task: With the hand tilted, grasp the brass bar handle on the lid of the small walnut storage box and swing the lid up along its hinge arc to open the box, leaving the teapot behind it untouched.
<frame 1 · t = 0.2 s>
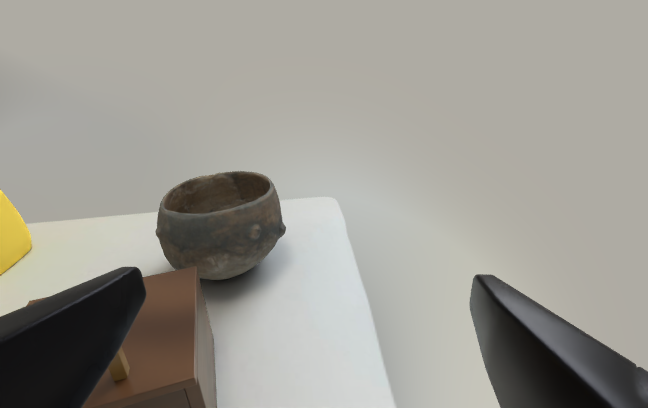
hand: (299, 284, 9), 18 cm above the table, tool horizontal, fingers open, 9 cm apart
bowl: (231, 265, 42), on the table
lid: (91, 313, 21), point 10 cm above the table, hinge at 0.0°
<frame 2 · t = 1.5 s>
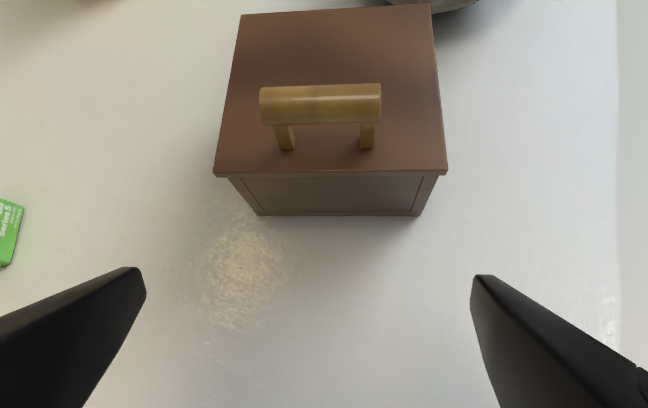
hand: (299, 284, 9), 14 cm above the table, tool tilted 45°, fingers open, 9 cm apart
chest: (338, 151, 26), on the table
lid: (326, 58, 17), point 10 cm above the table, hinge at 0.0°
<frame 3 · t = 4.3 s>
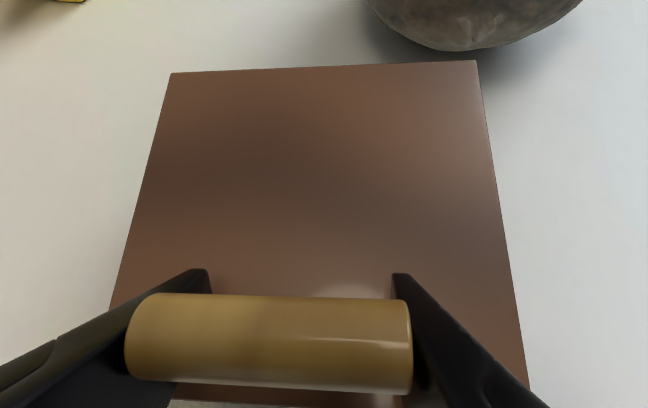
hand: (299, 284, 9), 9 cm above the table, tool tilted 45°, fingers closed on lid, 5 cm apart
bowl: (456, 16, 24), on the table
lid: (299, 181, 9), point 10 cm above the table, hinge at 0.0°, touching gripper
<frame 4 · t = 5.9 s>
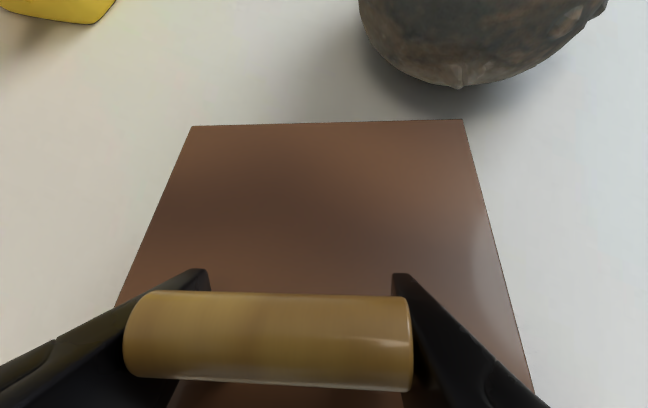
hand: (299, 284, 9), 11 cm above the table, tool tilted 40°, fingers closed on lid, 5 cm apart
bowl: (452, 42, 25), on the table
lid: (303, 207, 10), point 11 cm above the table, hinge at 16.6°, touching gripper
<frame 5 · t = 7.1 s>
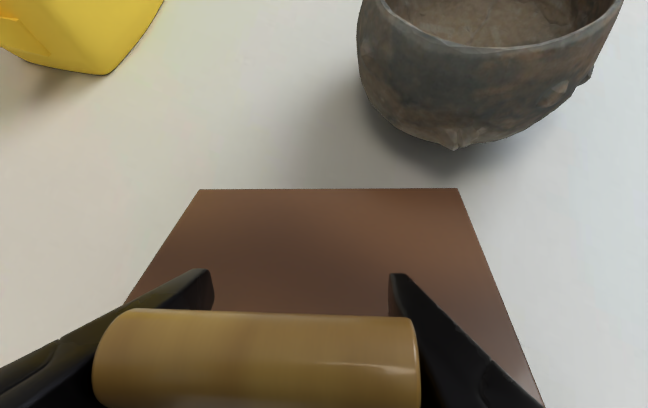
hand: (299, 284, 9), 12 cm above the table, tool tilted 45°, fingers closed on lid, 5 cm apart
bowl: (447, 98, 26), on the table
teapot: (94, 31, 34), on the table
lid: (302, 252, 10), point 12 cm above the table, hinge at 29.2°, touching gripper
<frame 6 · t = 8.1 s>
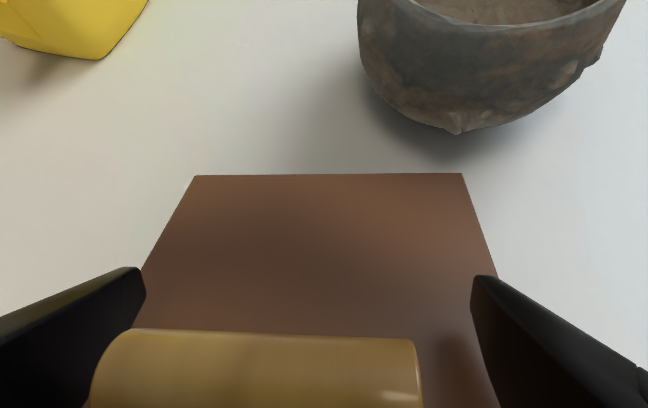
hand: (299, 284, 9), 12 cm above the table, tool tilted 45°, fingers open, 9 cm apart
bowl: (450, 82, 26), on the table
teapot: (87, 14, 33), on the table
lid: (302, 250, 10), point 12 cm above the table, hinge at 25.2°
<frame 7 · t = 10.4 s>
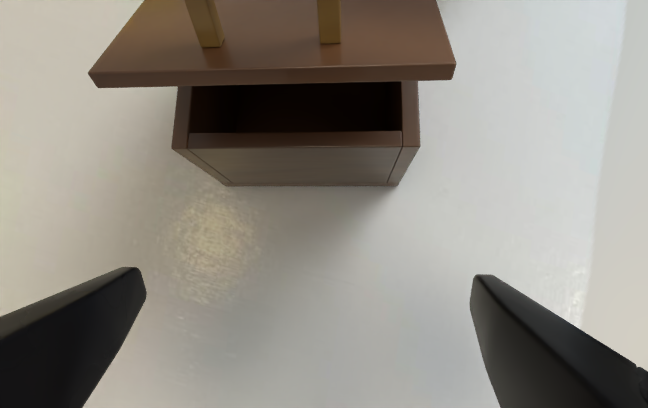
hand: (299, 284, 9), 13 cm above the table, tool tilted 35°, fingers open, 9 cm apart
chest: (311, 112, 24), on the table
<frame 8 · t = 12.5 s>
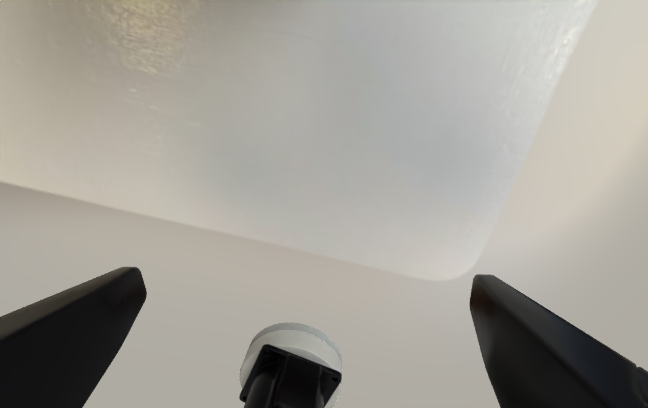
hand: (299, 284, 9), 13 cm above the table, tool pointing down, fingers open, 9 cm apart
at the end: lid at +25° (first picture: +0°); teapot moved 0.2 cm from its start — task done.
